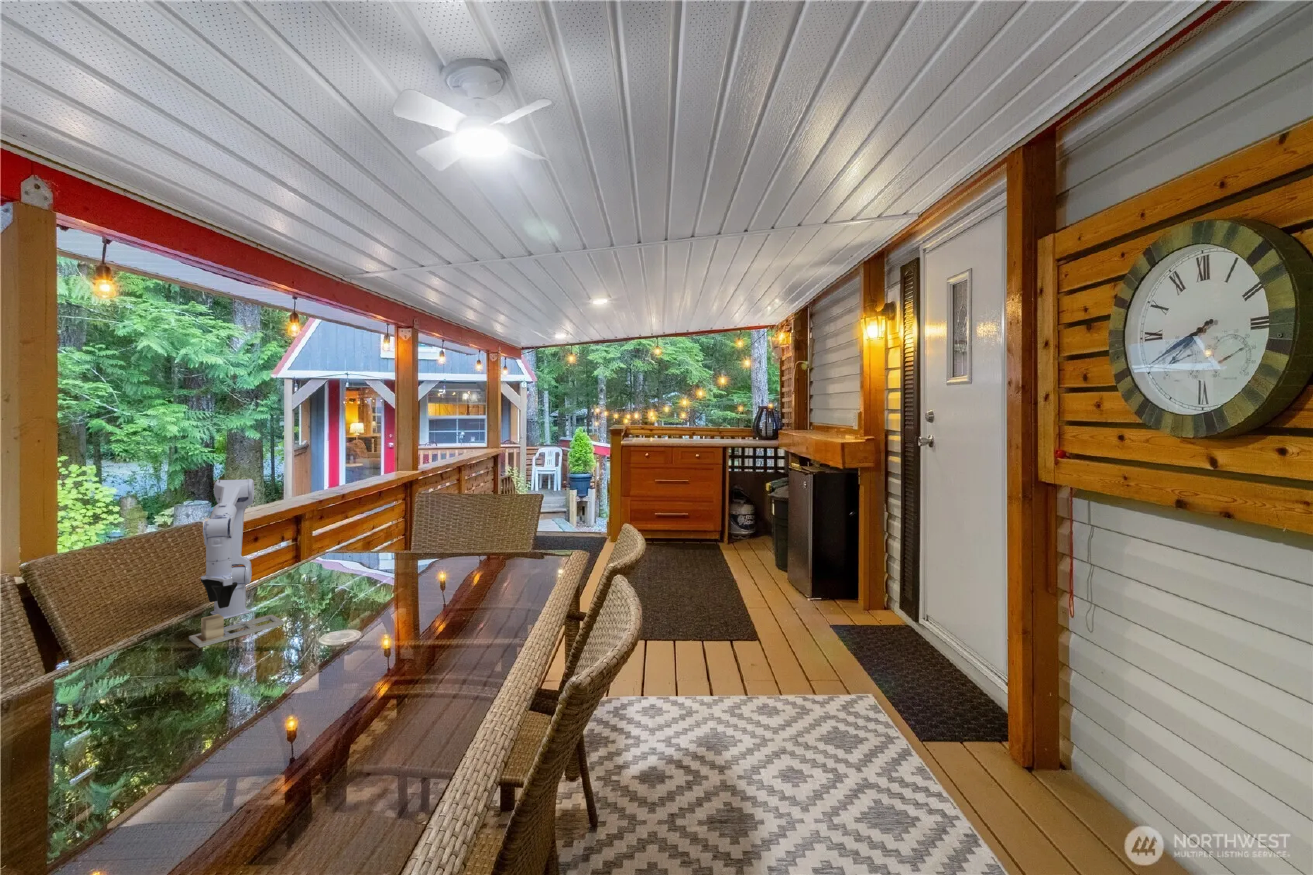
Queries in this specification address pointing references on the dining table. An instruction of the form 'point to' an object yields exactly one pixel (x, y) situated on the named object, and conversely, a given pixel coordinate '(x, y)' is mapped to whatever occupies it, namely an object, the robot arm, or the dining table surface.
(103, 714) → the dining table surface
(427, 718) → the dining table surface
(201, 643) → the white rectangular slotted frame
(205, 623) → the block
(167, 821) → the dining table surface
